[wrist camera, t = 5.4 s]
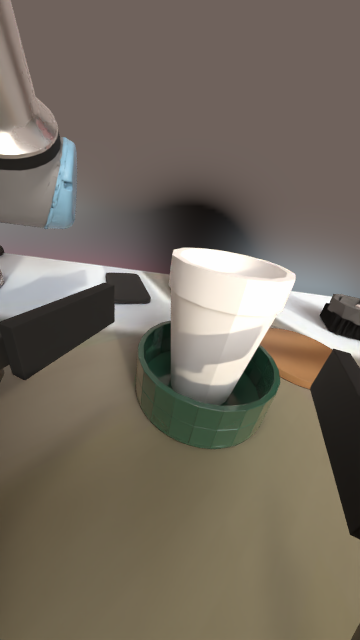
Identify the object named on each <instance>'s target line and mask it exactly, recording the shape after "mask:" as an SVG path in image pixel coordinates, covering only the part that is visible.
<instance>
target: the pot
mask: <svg viewBox="0 0 360 640" xmlns="http://www.w3.org/2000/svg"><path fill="white" fill-rule="evenodd" d="M279 385H280V375H279V369H278V367H277V365H276V363H275V361H274V359H273V358H272V357H271V355H270V354H269V353H268V352H267V351H266V350H265V348H264V347H262V346H261V345H260V344H259V346H258V348H257V350H256V351H255V353H254V355H253V356H252V358H251V360H250V361H249V363H248V365H247V367H246V368H245V370H244V372H243V373H242V375H241V377H240V378H239V380H238V382H237V384H236V385H235V387H234V389H233V390H232V392H231V394H230V396H229V397H228V398H227V400H226V402H224V403H223V404H221V405H214V404H209V403H203V402H199V401H196V400H194V399H191V398H189V397H186V396H184V395H181V394H179V393H177V392H175V391H174V390H173V388H172V386H171V321H167V322H163V323H160V324H158V325H156V326H154V327H152V328H151V329H150V330H148V331H147V332H146V333H145V334H144V335H143V337H142V339H141V341H140V343H139V345H138V356H137V371H136V395H137V399H138V402H139V404H140V407H141V409H142V410H143V412H144V414H145V415H146V416H147V418H148V419H149V420H150V421H151V422H152V423H153V424H154V425H155V426H156V427H157V428H158V429H159V430H160V431H162V432H163V433H165V434H166V435H168V436H169V437H171V438H173V439H175V440H177V441H179V442H182V443H184V444H187V445H191V446H195V447H199V448H207V449H221V448H227V447H231V446H234V445H237V444H240V443H242V442H243V441H245V440H247V439H248V438H249V437H251V436H252V435H253V434H254V433H255V431H256V430H257V429H258V428H259V427H260V425H261V423H262V421H263V419H264V417H265V415H266V413H267V411H268V409H269V407H270V405H271V403H272V401H273V399H274V397H275V395H276V393H277V390H278V388H279Z"/></svg>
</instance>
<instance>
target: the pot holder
mask: <svg viewBox="0 0 360 640" xmlns="http://www.w3.org/2000/svg"><path fill="white" fill-rule="evenodd" d="M260 345H261V346H262V347H264V348H265V350H266V351H267V352H268V353H269V354H270V355H271V357H272V358H273V359H274V361H275V363H276V365H277V367H278V369H279V375H280V377H282V378H284V379H286V380H287V381H289V382H292V383H294V384H296V385H299V386H301V387H304V388H308V389H310V387H311V385H312V383H313V382H314V380H315V378H316V377H317V375H318V373H319V372H320V370H321V368H322V367H323V365H324V363H325V362H326V360H327V358H328V357H329V355H330V353H331V352H332V349H330V348H329V347H327V346H325V345H324V344H322V343H320V342H318V341H316V340H314V339H312V338H310V337H307V336H305V335H302V334H299V333H296V332H293V331H289V330H284V329H276V328H269V329H268V331H267V332H266V334H265V336H264V338H263V339H262V341H261V343H260Z"/></svg>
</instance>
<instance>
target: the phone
mask: <svg viewBox="0 0 360 640" xmlns="http://www.w3.org/2000/svg"><path fill="white" fill-rule="evenodd" d="M106 282H107V283H108V284H111V285H115V293H114V303H148V302H150V299H151V297H150V295H149V294H148V292H147V290H146V288H145V286H144V285H143V283H142V281H141V279H140V277H139V276H138V275H137V274H131V273H106Z"/></svg>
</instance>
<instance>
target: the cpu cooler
mask: <svg viewBox="0 0 360 640" xmlns="http://www.w3.org/2000/svg"><path fill="white" fill-rule="evenodd" d="M320 317H321V318H322V320H323V322H324V323H325V325H326V326H327V328H328V329H329V330H330V331H334V332H335V333H336V334H339V335H342V336H346V337H350V338H353V339H357V340H358V339H359V340H360V299H359V298H355V297H350V296H345V295H342V294H333V296H332V299H331V301H330V303H329V304H328V303H326V304H325V306H324V308H323V310H322V312H321V314H320Z"/></svg>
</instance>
